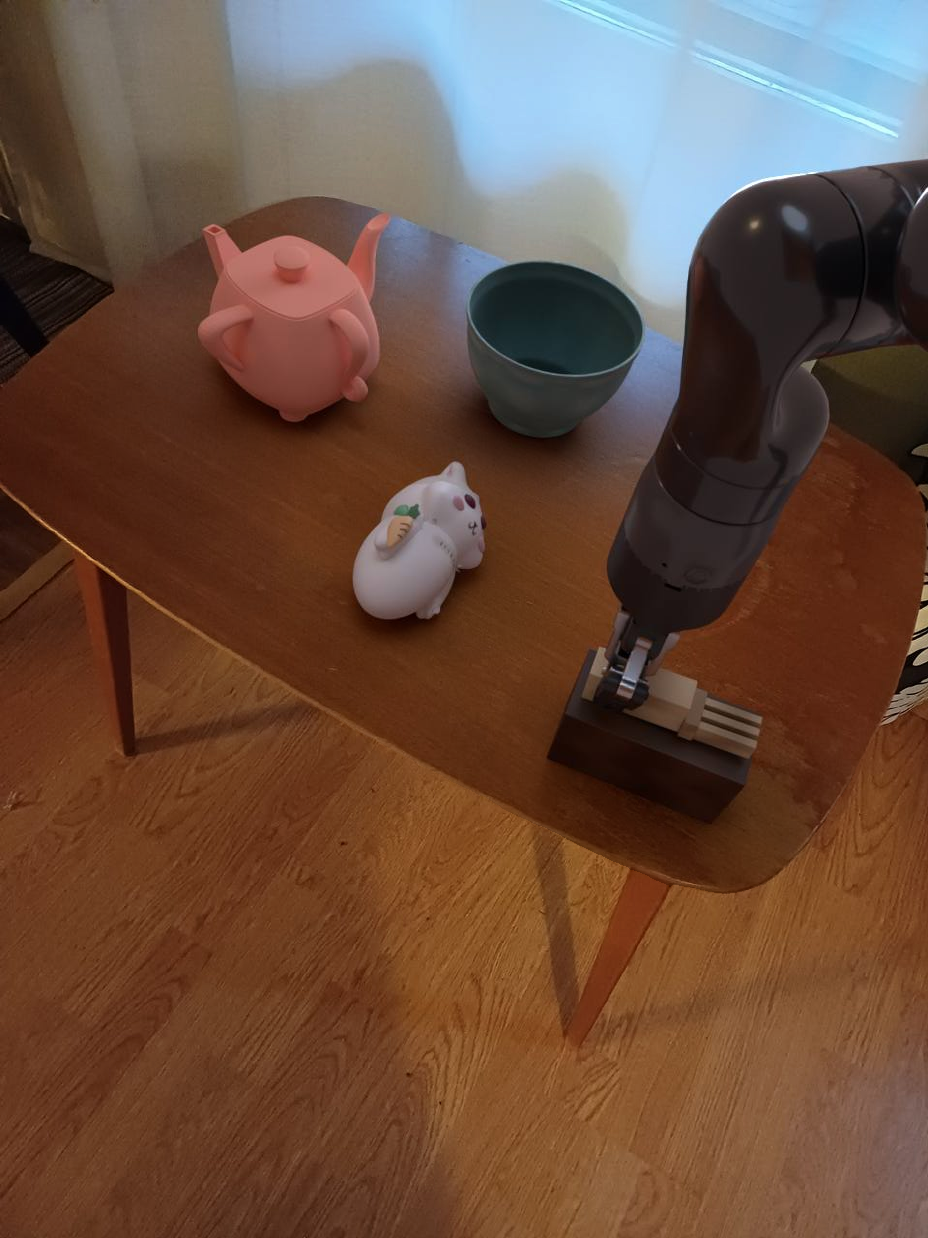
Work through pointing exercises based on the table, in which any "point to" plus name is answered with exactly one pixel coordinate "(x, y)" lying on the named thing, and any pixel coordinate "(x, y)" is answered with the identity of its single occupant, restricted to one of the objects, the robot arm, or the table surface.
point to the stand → (647, 756)
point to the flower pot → (550, 343)
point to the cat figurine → (420, 547)
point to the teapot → (294, 319)
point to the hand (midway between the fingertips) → (613, 687)
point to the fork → (688, 710)
